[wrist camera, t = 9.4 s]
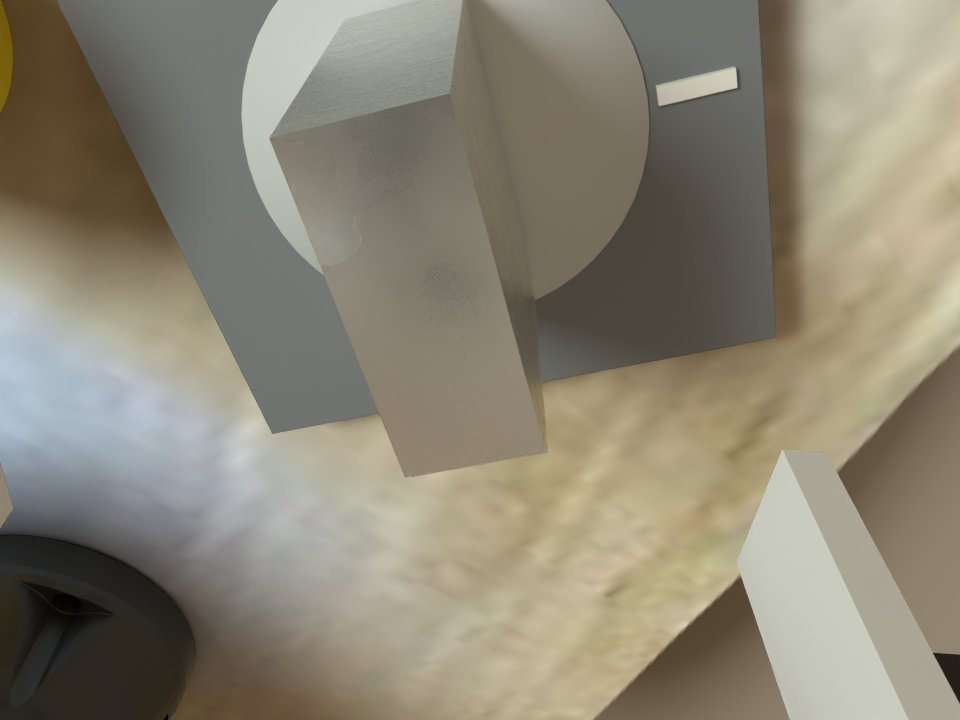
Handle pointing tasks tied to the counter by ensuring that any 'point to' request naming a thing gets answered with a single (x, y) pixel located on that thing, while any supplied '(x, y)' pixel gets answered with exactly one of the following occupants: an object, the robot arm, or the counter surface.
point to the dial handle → (420, 234)
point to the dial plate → (530, 161)
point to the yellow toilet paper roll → (5, 57)
